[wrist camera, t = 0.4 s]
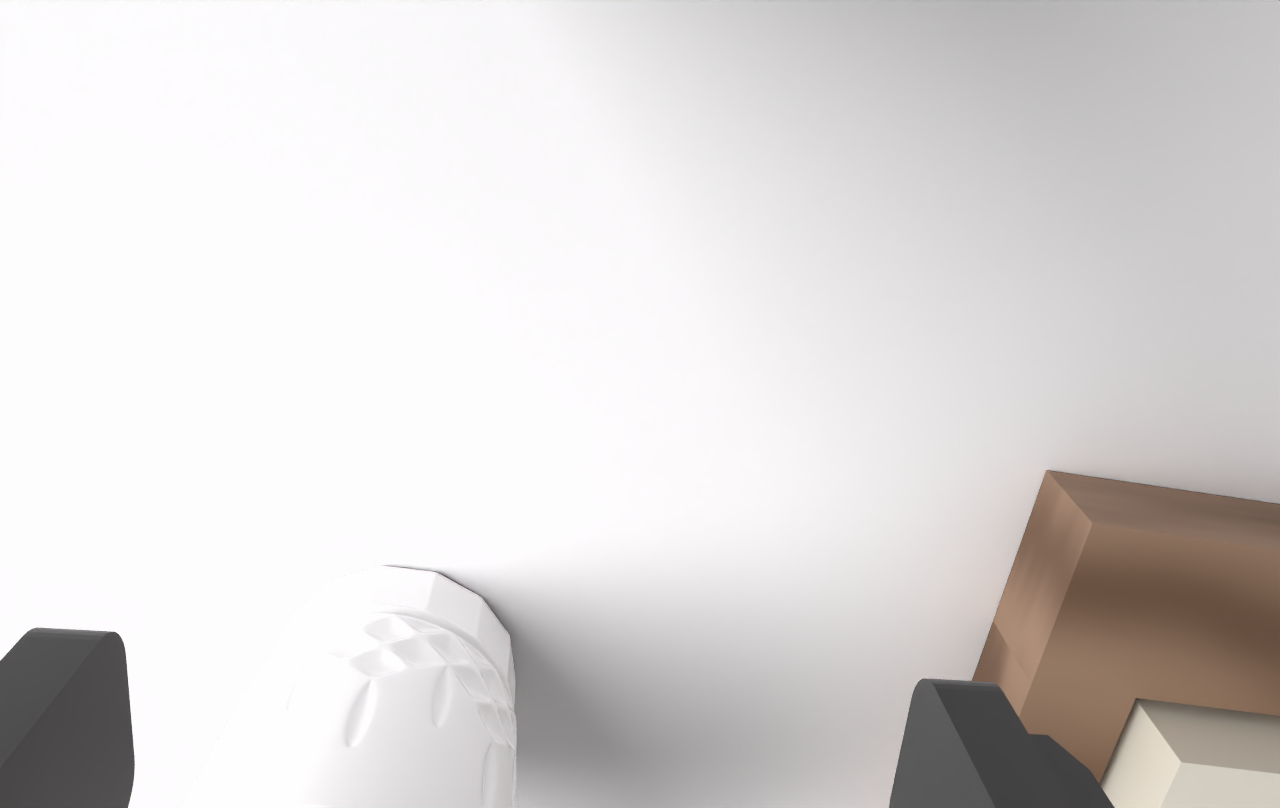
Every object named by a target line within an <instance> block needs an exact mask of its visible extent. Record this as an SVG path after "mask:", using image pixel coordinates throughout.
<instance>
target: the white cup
mask: <svg viewBox="0 0 1280 808" xmlns="http://www.w3.org/2000/svg"><path fill="white" fill-rule="evenodd" d="M515 687H516V678H515V670H514V662H513V655H512V647H511V639H510V635H509V634H508V632H507V631H506V630H505V628H504V627H503V626H502V624H501V623H500V621H499V620H498V619H497V617H496V616H495V615H494V613H493V612H492V611H491V609H490V608H489V606H488V605H487V604H486V602H485V601H484V600H483V598H482V597H480V596H479V595H477V594H475V593H473V592H471V591H470V590H468V589H466V588H464V587H462V586H461V585H459V584H457V583H455V582H453V581H452V580H450V579H448V578H446V577H444V576H443V575H441V574H439V573H437V572H433V571H424V570H416V569H408V568H399V567H391V566H379V567H375V568H371V569H368V570H364V571H361V572H357V573H353V574H350V575H346V576H343V577H339V578H335V579H332V580H331V581H330V582H328V583H327V584H326V585H325V586H324V587H323V588H322V589H320V590H319V591H318V592H317V593H316V594H315V595H314V596H312V597H311V598H310V599H309V600H308V601H307V602H306V603H304V604H303V605H302V606H301V607H300V608H299V609H298V610H296V612H295V613H294V614H293V616H292V618H291V620H290V622H289V624H288V625H287V627H286V629H285V631H284V633H283V635H282V637H281V639H280V641H279V642H278V644H277V646H276V648H275V650H274V652H273V654H272V656H271V657H270V658H269V659H268V661H267V662H266V663H265V665H264V666H263V667H262V669H261V670H260V671H259V673H258V674H257V676H256V677H255V678H254V680H253V681H252V683H251V685H250V686H249V688H248V690H247V692H246V693H245V695H244V697H243V699H242V701H241V702H240V704H239V706H238V708H237V710H236V712H235V713H234V714H233V716H232V717H231V719H230V720H229V722H228V723H227V725H226V726H225V728H224V730H223V732H222V733H221V735H220V737H219V739H218V740H217V742H216V744H215V746H214V748H213V750H212V751H211V753H210V755H209V757H208V759H207V760H206V762H205V764H204V766H203V768H202V770H201V771H200V773H199V775H198V777H197V779H196V780H195V782H194V784H193V786H192V788H191V789H190V791H189V793H188V795H187V797H186V799H185V800H184V802H183V804H182V806H181V808H516V791H517V763H516V757H517V756H516V755H517V754H516V747H517V725H516V715H515V712H514V706H515Z"/></svg>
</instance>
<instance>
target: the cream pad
mask: <svg viewBox="0 0 1280 808" xmlns="http://www.w3.org/2000/svg"><path fill="white" fill-rule="evenodd" d="M1099 785H1100V786H1101V788H1102V789H1103V791H1104V792H1105V794H1106V795H1107V797H1108V798H1109V800H1110V801H1111V803H1112V804H1113V806H1114V807H1115V808H1280V716H1276V715H1268V714H1260V713H1252V712H1244V711H1236V710H1228V709H1220V708H1212V707H1204V706H1196V705H1188V704H1180V703H1172V702H1164V701H1156V700H1148V699H1140V698H1136V699H1135V701H1134V704H1133V706H1132V708H1131V711H1130V713H1129V715H1128V718H1127V720H1126V722H1125V725H1124V727H1123V729H1122V732H1121V734H1120V736H1119V739H1118V741H1117V743H1116V746H1115V748H1114V750H1113V753H1112V755H1111V757H1110V760H1109V762H1108V764H1107V767H1106V769H1105V771H1104V774H1103V776H1102V778H1101V781H1100V783H1099Z"/></svg>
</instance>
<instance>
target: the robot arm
mask: <svg viewBox="0 0 1280 808" xmlns="http://www.w3.org/2000/svg"><path fill="white" fill-rule="evenodd" d="M134 766H135V764H134V748H133V736H132V724H131V712H130V700H129V688H128V676H127V664H126V654H125V647H124V643H123V641H122V639H121V637H120V636H119V634H117V633H116V632H107V631H89V630H70V629H52V628H34V629H31V630H30V631H28V632H27V633H26V634H25V635H24V636H23V637H22V638H21V639H20V640H19V641H18V642H17V643H16V644H15V646H14V647H13V648H12V649H11V650H10V651H9V652H8V653H7V654H6V655H5V657H4V658H3V659H2V660H1V661H0V808H128V804H129V801H130V797H131V792H132V787H133V780H134ZM889 808H1115V807H1114V806H1113V804H1112V803H1111V801H1110V800H1109V798H1108V797H1107V795H1106V794H1105V792H1104V791H1103V789H1102V788H1101V786H1100V785H1099V783H1098V781H1097V780H1096V778H1095V777H1094V775H1093V774H1092V772H1091V771H1090V770H1089V769H1088V768H1087V767H1086V766H1085V765H1083V764H1082V763H1081V762H1080V761H1079V760H1077V759H1076V758H1075V757H1074V756H1073V755H1071V754H1070V753H1069V752H1068V751H1067V750H1065V749H1064V748H1063V747H1062V746H1061V745H1059V744H1058V743H1057V742H1056V741H1055V740H1053V739H1052V738H1051V737H1050V736H1049V735H1039V734H1028V732H1027V730H1026V729H1025V727H1024V725H1023V724H1022V722H1021V720H1020V719H1019V717H1018V715H1017V714H1016V712H1015V710H1014V709H1013V707H1012V705H1011V704H1010V702H1009V700H1008V699H1007V697H1006V696H1005V694H1004V692H1003V691H1002V689H1001V688H1000V687H999V686H998V685H997V684H995V683H993V682H977V681H959V680H941V679H922V680H920V681H919V682H918V683H917V685H916V687H915V689H914V692H913V695H912V699H911V704H910V708H909V713H908V718H907V723H906V727H905V732H904V737H903V741H902V746H901V751H900V756H899V760H898V765H897V770H896V774H895V779H894V784H893V789H892V793H891V799H890V806H889Z"/></svg>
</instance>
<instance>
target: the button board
mask: <svg viewBox="0 0 1280 808" xmlns="http://www.w3.org/2000/svg"><path fill="white" fill-rule="evenodd" d="M972 681H977V682H993V683H995V684H997V685H998V686H999V687H1000V688H1001V689H1002V691H1003V692H1004V694H1005V696H1006V697H1007V699H1008V700H1009V702H1010V704H1011V705H1012V707H1013V709H1014V710H1015V712H1016V714H1017V715H1018V717H1019V719H1020V720H1021V722H1022V724H1023V725H1024V727H1025V729H1026V730H1027V732H1028V734H1039V735H1049V736H1050V737H1051V738H1052V739H1053V740H1055V741H1056V742H1057V743H1058V744H1059V745H1061V746H1062V747H1063V748H1064V749H1065V750H1067V751H1068V752H1069V753H1070V754H1071V755H1073V756H1074V757H1075V758H1076V759H1077V760H1079V761H1080V762H1081V763H1082V764H1083V765H1085V766H1086V767H1087V768H1088V769H1089V770H1090V771H1091V772H1092V774H1093V775H1094V777H1095V778H1096V780H1097V781H1098V783H1100V781H1101V778H1102V776H1103V774H1104V771H1105V769H1106V767H1107V764H1108V762H1109V760H1110V757H1111V755H1112V753H1113V750H1114V748H1115V746H1116V743H1117V741H1118V739H1119V736H1120V734H1121V732H1122V729H1123V727H1124V725H1125V722H1126V720H1127V718H1128V715H1129V713H1130V711H1131V708H1132V706H1133V704H1134V701H1135V699H1136V698H1140V699H1148V700H1156V701H1164V702H1172V703H1180V704H1188V705H1196V706H1204V707H1212V708H1220V709H1228V710H1236V711H1244V712H1252V713H1260V714H1268V715H1276V716H1280V504H1274V503H1267V502H1260V501H1253V500H1246V499H1240V498H1233V497H1226V496H1219V495H1212V494H1205V493H1199V492H1192V491H1185V490H1178V489H1171V488H1164V487H1158V486H1151V485H1144V484H1137V483H1130V482H1123V481H1116V480H1110V479H1103V478H1096V477H1089V476H1082V475H1075V474H1069V473H1062V472H1055V471H1048V470H1046V473H1045V476H1044V479H1043V482H1042V485H1041V487H1040V490H1039V493H1038V496H1037V499H1036V502H1035V504H1034V507H1033V510H1032V513H1031V516H1030V519H1029V521H1028V524H1027V527H1026V530H1025V533H1024V535H1023V538H1022V541H1021V544H1020V547H1019V550H1018V552H1017V555H1016V558H1015V561H1014V564H1013V567H1012V569H1011V572H1010V575H1009V578H1008V581H1007V584H1006V586H1005V589H1004V592H1003V595H1002V598H1001V600H1000V603H999V606H998V609H997V612H996V615H995V617H994V620H993V623H992V626H991V629H990V632H989V634H988V637H987V640H986V643H985V646H984V648H983V651H982V654H981V657H980V660H979V663H978V665H977V668H976V671H975V674H974V677H973V680H972Z"/></svg>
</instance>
